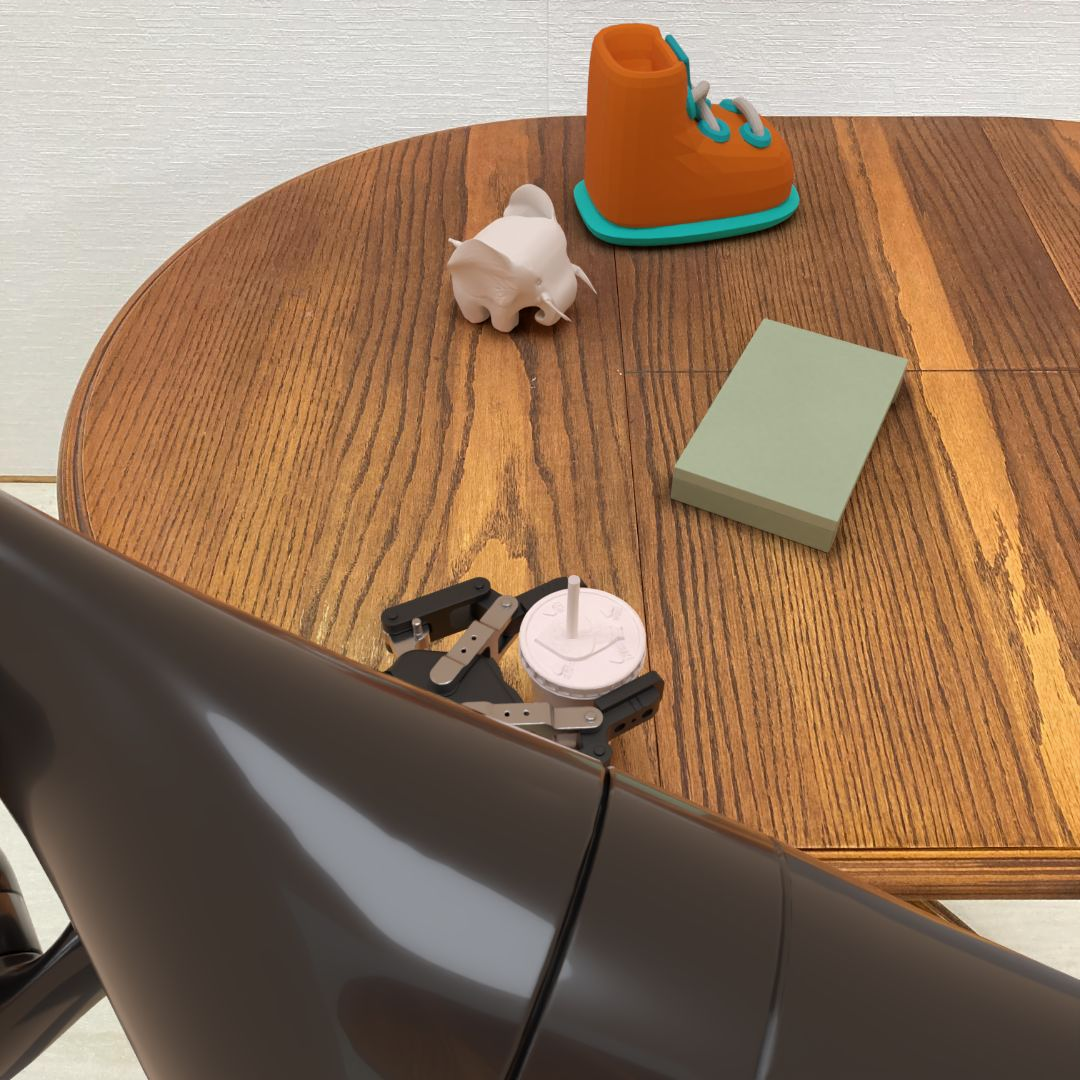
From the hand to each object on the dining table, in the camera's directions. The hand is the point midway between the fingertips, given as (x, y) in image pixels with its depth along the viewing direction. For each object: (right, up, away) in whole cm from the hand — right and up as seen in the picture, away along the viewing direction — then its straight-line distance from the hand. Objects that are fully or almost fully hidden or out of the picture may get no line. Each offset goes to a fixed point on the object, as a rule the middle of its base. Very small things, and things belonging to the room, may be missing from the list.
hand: (619, 636), depth 57 cm
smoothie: (-2, -6, +5) cm, 9 cm away
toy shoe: (+9, +34, +42) cm, 55 cm away
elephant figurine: (-6, +23, +32) cm, 40 cm away
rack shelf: (+14, +12, +22) cm, 28 cm away
